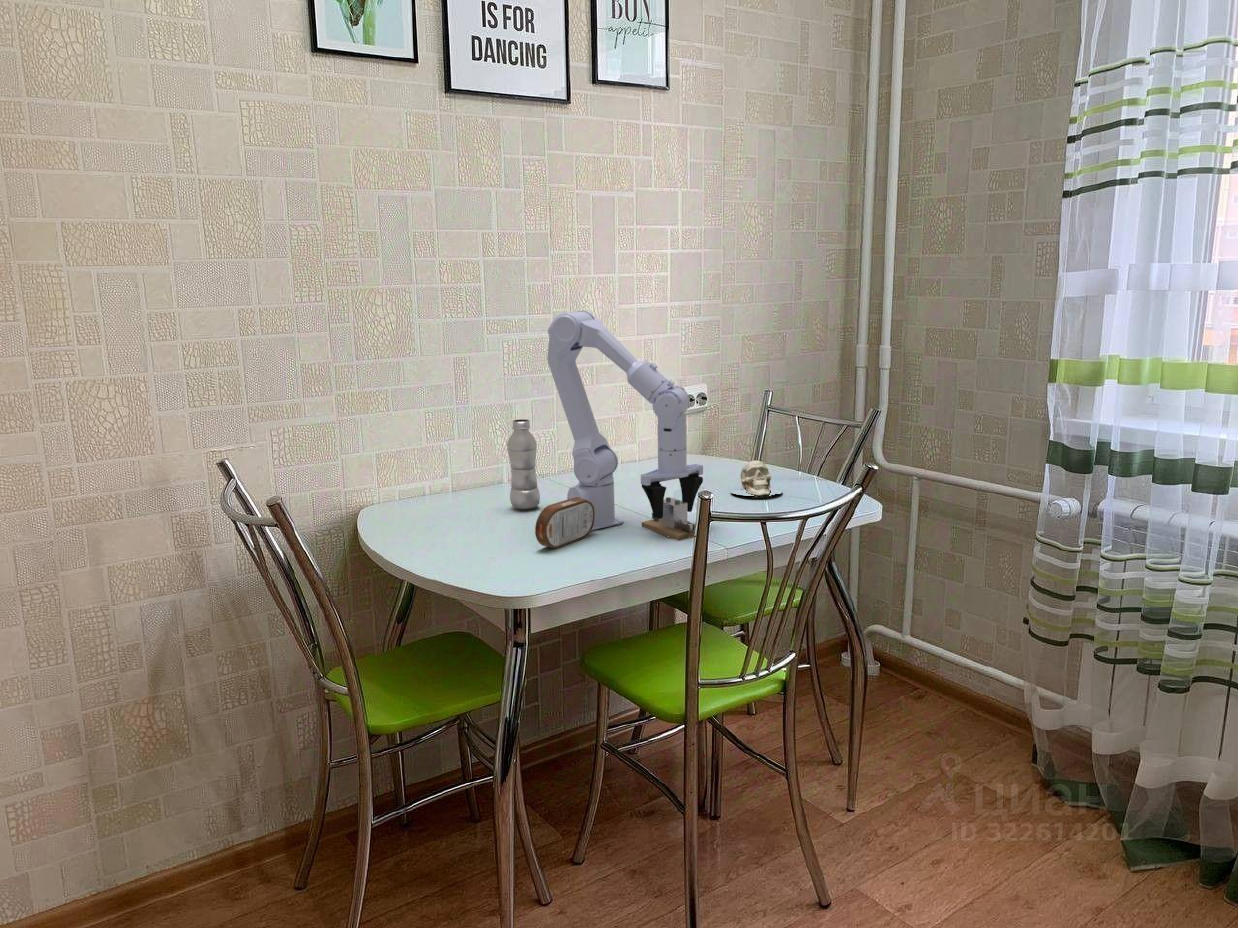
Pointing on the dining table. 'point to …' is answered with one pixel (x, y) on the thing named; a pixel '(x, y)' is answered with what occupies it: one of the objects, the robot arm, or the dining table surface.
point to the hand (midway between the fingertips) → (672, 514)
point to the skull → (756, 479)
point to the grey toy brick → (673, 513)
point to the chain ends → (682, 525)
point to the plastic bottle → (523, 466)
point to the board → (667, 530)
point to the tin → (564, 522)
